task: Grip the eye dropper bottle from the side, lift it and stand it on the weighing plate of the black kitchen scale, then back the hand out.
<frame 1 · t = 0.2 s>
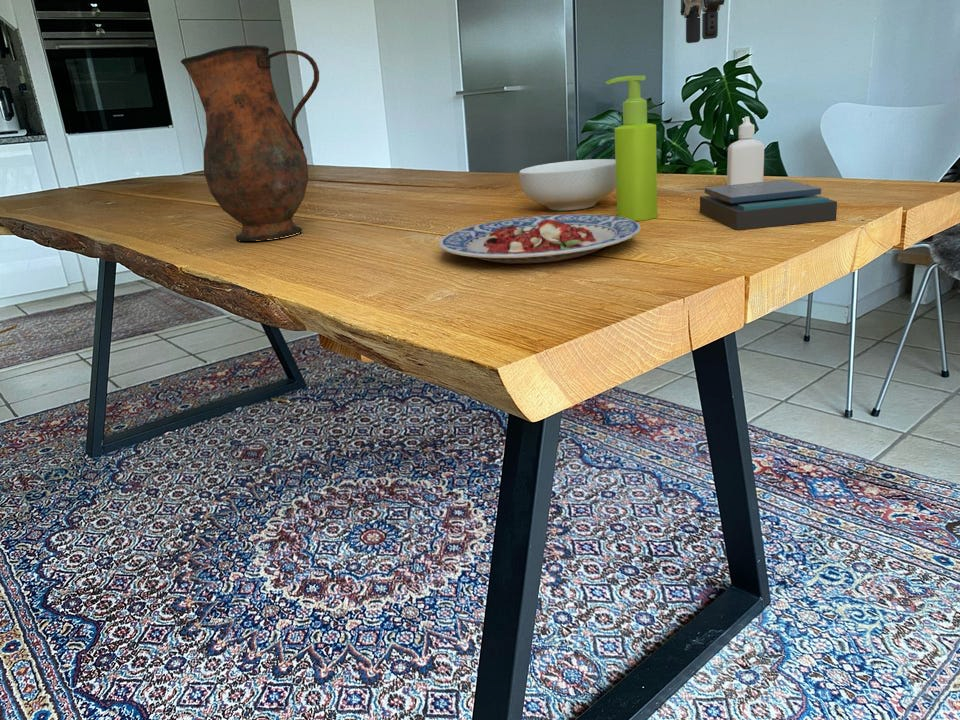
hand: (701, 40, 118), 24 cm above the table, tool pointing down, fingers open, 8 cm apart
pitcher: (282, 236, 127), on the table
ceramic plate: (539, 250, 96), on the table
eye dropper bottle: (744, 192, 124), on the table
cereal bowl: (571, 208, 126), on the table
soap dispenser: (633, 218, 111), on the table
scale plate: (759, 190, 102), point 3 cm above the table, slide at 0.0 cm
scale: (763, 216, 102), on the table
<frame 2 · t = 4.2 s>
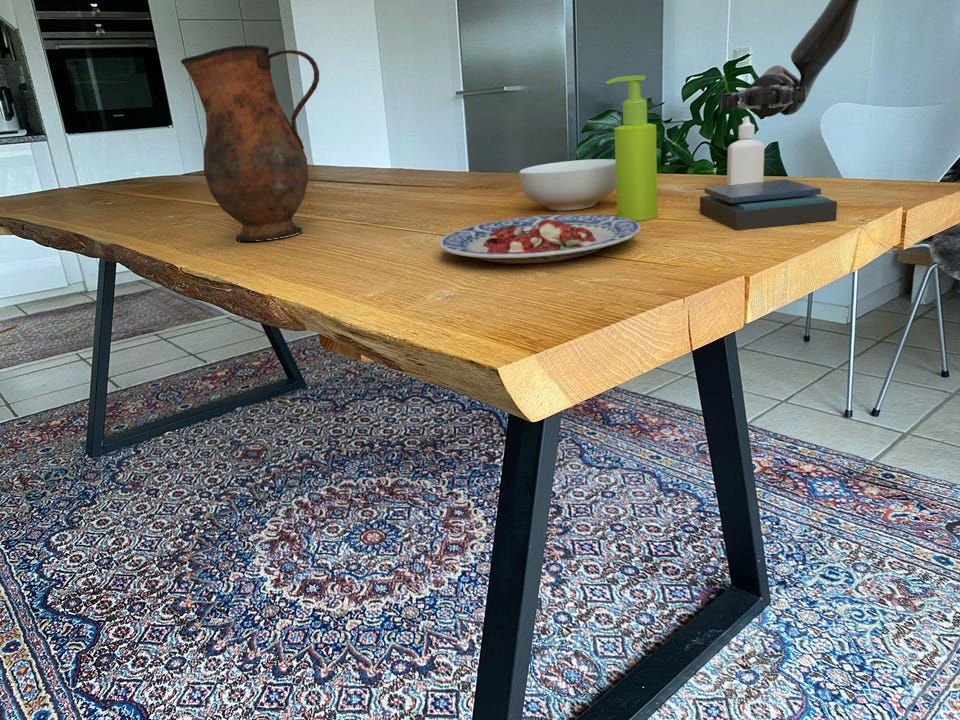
hand: (757, 99, 128), 14 cm above the table, tool horizontal, fingers open, 8 cm apart
nothing on the table moved.
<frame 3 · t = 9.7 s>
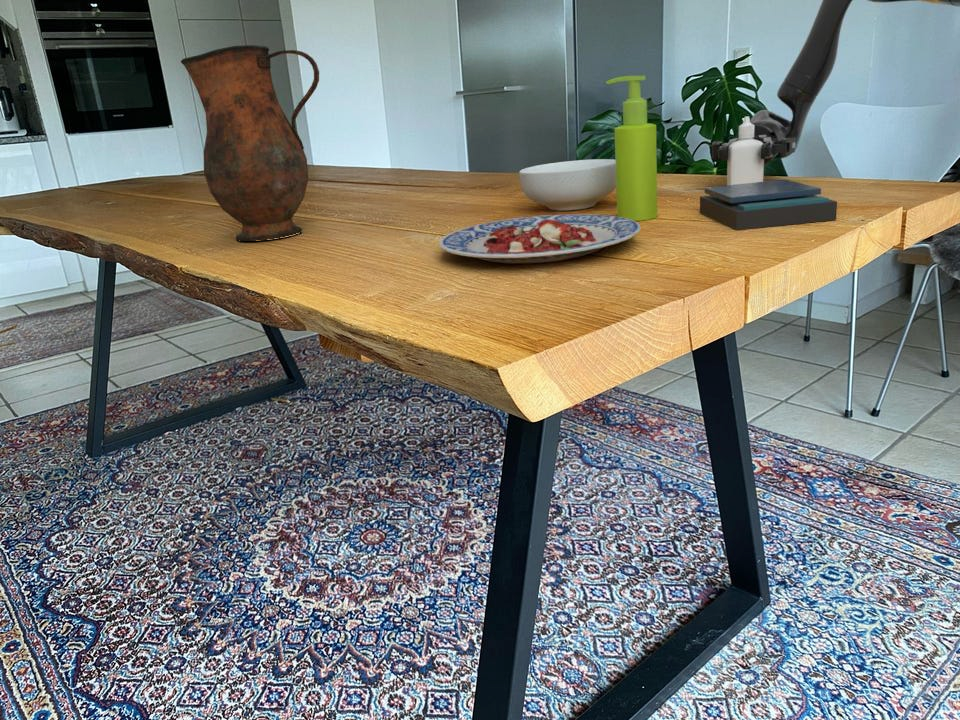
hand: (742, 153, 119), 7 cm above the table, tool horizontal, fingers closed on eye dropper bottle, 5 cm apart
eye dropper bottle: (744, 192, 124), on the table, touching gripper
everything else where it was.
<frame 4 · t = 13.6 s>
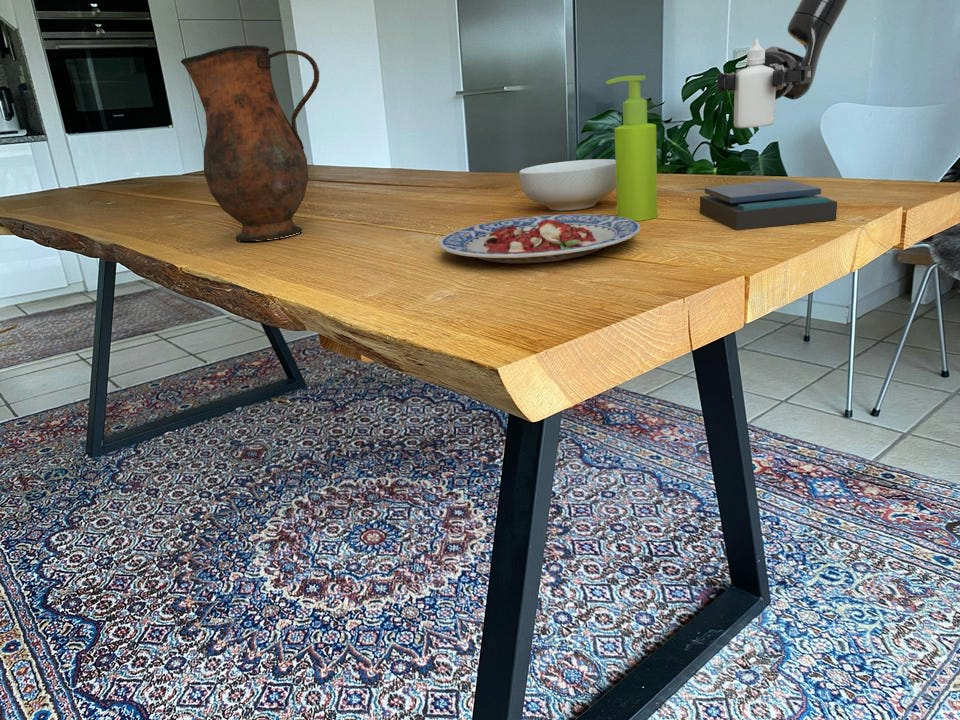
hand: (752, 81, 106), 18 cm above the table, tool horizontal, fingers closed on eye dropper bottle, 5 cm apart
eye dropper bottle: (753, 127, 110), point 11 cm above the table, touching gripper
everything else where it was.
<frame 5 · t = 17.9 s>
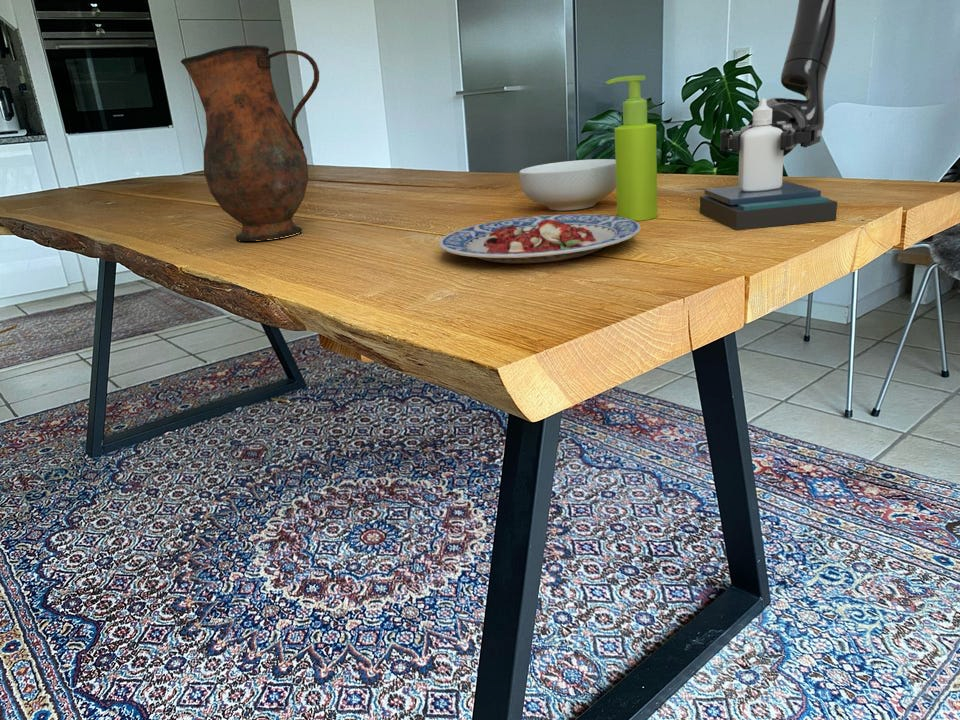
hand: (758, 143, 98), 10 cm above the table, tool horizontal, fingers closed on eye dropper bottle, 5 cm apart
eye dropper bottle: (759, 190, 102), point 3 cm above the table, touching gripper
everything else where it was.
when the fingers open (10 cm above the table, at t = 18.0 s): eye dropper bottle stays where it is, resting on scale plate.
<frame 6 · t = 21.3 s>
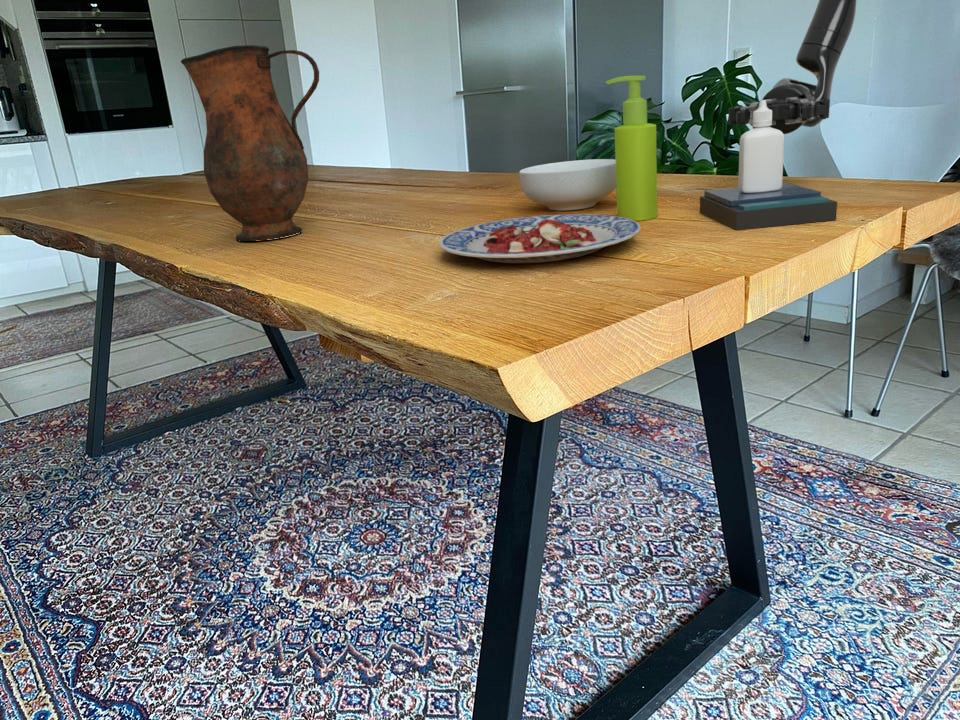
hand: (772, 115, 107), 13 cm above the table, tool horizontal, fingers open, 8 cm apart
eye dropper bottle: (759, 192, 103), point 3 cm above the table, touching scale plate
scale plate: (759, 194, 103), point 3 cm above the table, slide at -0.4 cm, touching eye dropper bottle
everything else where it was.
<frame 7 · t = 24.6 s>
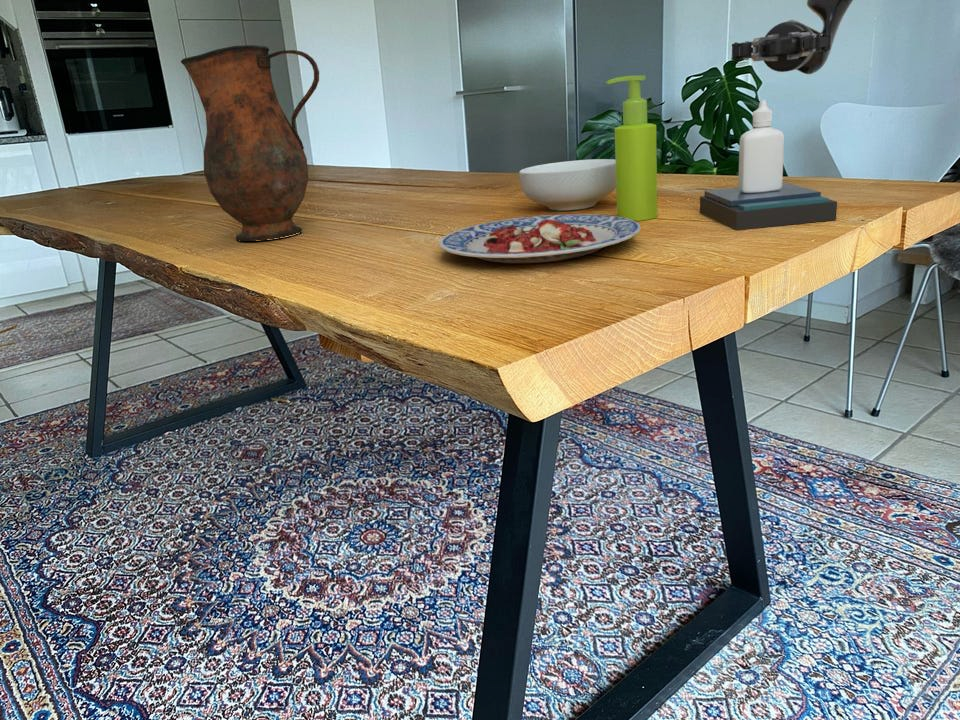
hand: (775, 46, 109), 22 cm above the table, tool horizontal, fingers open, 8 cm apart
nothing on the table moved.
at the end: eye dropper bottle inside the target area on the scale (0.1 cm from its centre), point 3.1 cm above the scale's base; eye dropper bottle tilted 0°; the gripper is holding nothing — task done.
